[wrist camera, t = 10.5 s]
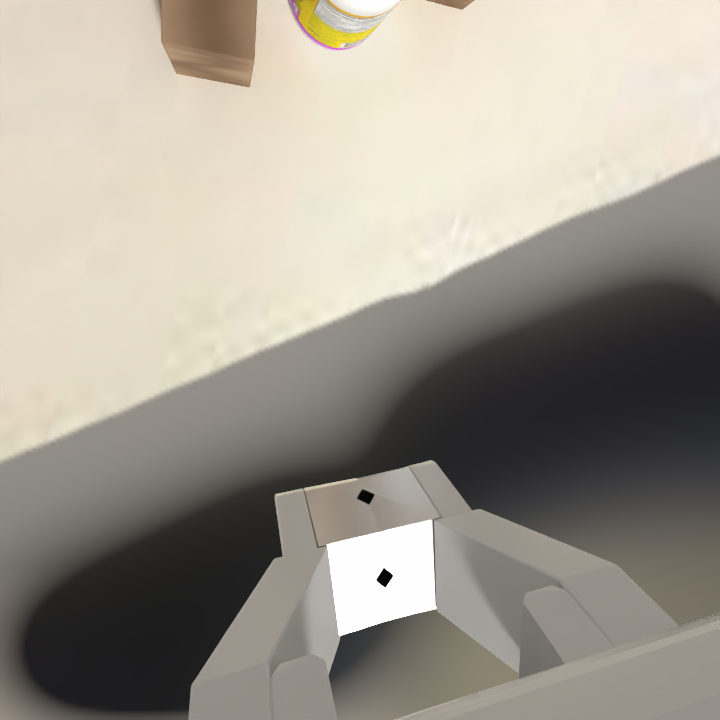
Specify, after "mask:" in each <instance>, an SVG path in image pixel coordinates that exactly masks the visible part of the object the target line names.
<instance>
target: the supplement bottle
mask: <svg viewBox="0 0 720 720" xmlns="http://www.w3.org/2000/svg"><path fill="white" fill-rule="evenodd" d="M400 1H401V0H289V4H290V8H291V11H292V14H293V17H294V19H295V21H296V23H297V25H298V27H299V28H300V30H301V31H302V32H303V34H304V35H305V36H306V37H307V38H308V39H309V40H310V41H311V42H313V43H314V44H316V45H317V46H319V47H321V48H324V49H327V50H331V51H345V50H349V49H351V48H354V47H356V46H357V45H359V44H360V43H362V42H363V41H364V40H365V39H366V38H367V37H368V36H369V35H370V34H371V33H372V32H373V31H374V30H375V28H376V27H377V26H378V25H379V24H380V23H381V22H382V21H383V20H384V18H385V17H386V16H387V15H388V14H389V13H390V12H391V11H392V10H393V8H394V7H395V6H396V5H397V4H398V3H399V2H400Z"/></svg>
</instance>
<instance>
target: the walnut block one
mask: <svg viewBox="0 0 720 720" xmlns="http://www.w3.org/2000/svg"><path fill="white" fill-rule="evenodd" d="M256 15H257V0H161V42H162V44H163V46H164V48H165V50H166V52H167V55H168V57H169V59H170V61H171V63H172V65H173V67H174V69H175V71H176V74H181V75H186V76H192V77H197V78H202V79H208V80H213V81H219V82H224V83H229V84H235V85H240V86H246V87H250V82H251V76H252V71H253V65H254V57H255V36H256Z"/></svg>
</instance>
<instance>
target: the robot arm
mask: <svg viewBox="0 0 720 720" xmlns="http://www.w3.org/2000/svg"><path fill="white" fill-rule="evenodd" d="M275 504H276V511H277V518H278V525H279V532H280V539H281V546H282V553H283V557H279V558H275V559H274V560H273V562H272V563H271V565H270V566H269V568H268V569H267V571H266V573H265V574H264V575H263V577H262V578H261V580H260V581H259V583H258V585H257V586H256V588H255V589H254V591H253V592H252V594H251V595H250V597H249V598H248V600H247V601H246V603H245V605H244V606H243V607H242V609H241V610H240V612H239V614H238V615H237V617H236V618H235V620H234V622H233V623H232V624H231V626H230V627H229V629H228V630H227V632H226V633H225V635H224V636H223V638H222V640H221V641H220V643H219V644H218V646H217V647H216V649H215V650H214V652H213V653H212V655H211V656H210V658H209V659H208V661H207V663H206V664H205V666H204V667H203V669H202V670H201V672H200V673H199V675H198V676H197V678H196V679H195V681H194V682H193V684H192V686H191V696H190V708H189V719H188V720H338V719H337V715H336V711H335V705H334V700H333V696H332V691H331V686H330V682H329V677H328V674H329V671H330V668H331V665H332V662H333V659H334V656H335V653H336V650H337V647H338V644H339V640H340V635H342V634H346V633H349V632H352V631H355V630H358V629H361V628H365V627H368V626H371V625H374V624H377V623H380V622H384V621H387V620H390V619H394V618H399V617H403V616H406V615H411V614H414V613H419V612H423V611H426V610H430V609H434V608H437V611H438V612H439V613H440V614H442V615H443V616H444V617H446V618H447V619H448V620H450V621H451V622H452V623H454V624H455V625H456V626H458V627H459V628H460V629H461V630H463V631H464V632H465V633H467V634H468V635H469V636H471V637H472V638H473V639H474V640H476V641H477V642H478V643H480V644H481V645H482V646H484V647H485V648H486V649H488V650H489V651H490V652H491V653H493V654H494V655H495V656H497V657H498V658H499V659H501V660H502V661H503V662H504V663H506V664H507V665H508V666H510V667H511V668H512V669H514V670H515V671H516V672H518V673H519V679H517V680H514V681H511V682H508V683H505V684H502V685H499V686H496V687H493V688H490V689H486V690H484V691H480V692H477V693H474V694H471V695H468V696H465V697H462V698H459V699H456V700H453V701H450V702H447V703H444V704H441V705H437V706H434V707H431V708H429V709H426V710H423V711H419V712H416V713H413V714H410V715H407V716H404V717H401V718H398V719H395V720H720V613H719V614H716V615H713V616H710V617H706V618H703V619H701V620H697V621H694V622H691V623H688V624H685V625H682V626H679V625H677V623H675V622H674V621H673V620H672V619H671V618H670V617H669V616H668V615H667V614H666V613H665V612H664V611H663V610H662V609H661V608H660V607H659V606H658V605H657V604H656V603H655V602H654V601H653V600H652V599H651V598H650V597H649V596H648V595H647V594H646V593H645V592H644V591H643V590H642V589H641V588H640V587H639V586H638V585H637V584H636V583H635V582H634V581H632V579H631V578H630V577H628V576H627V575H626V574H625V573H624V572H623V571H622V570H621V569H620V568H619V567H618V566H617V565H616V564H613V563H611V562H608V561H606V560H603V559H601V558H599V557H596V556H594V555H591V554H589V553H586V552H584V551H581V550H579V549H577V548H574V547H572V546H569V545H567V544H564V543H562V542H560V541H557V540H555V539H552V538H550V537H547V536H545V535H542V534H540V533H537V532H535V531H532V530H530V529H528V528H525V527H523V526H520V525H518V524H515V523H513V522H511V521H508V520H506V519H503V518H501V517H498V516H496V515H493V514H491V513H489V512H486V511H484V510H481V509H477V510H473V511H472V510H471V508H470V507H469V506H468V505H467V503H466V502H465V501H464V499H463V498H462V497H461V495H460V494H459V493H458V491H457V490H456V489H455V488H454V486H453V485H452V484H451V482H450V481H449V480H448V478H447V477H446V476H445V474H444V473H443V472H442V470H441V469H440V468H439V467H438V465H437V464H436V463H435V462H434V461H431V460H430V461H427V462H422V463H419V464H415V465H411V466H407V467H405V468H401V469H396V470H393V471H388V472H383V473H379V474H375V475H371V476H366V477H362V478H358V479H357V478H355V479H349V480H344V481H339V482H334V483H329V484H323V485H318V486H313V487H308V488H304V490H302V489H298V490H293V491H289V492H285V493H280V494H276V495H275Z"/></svg>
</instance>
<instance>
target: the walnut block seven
mask: <svg viewBox="0 0 720 720" xmlns="http://www.w3.org/2000/svg"><path fill="white" fill-rule="evenodd" d="M427 1H431V2H435V3H439V4H443V5H446V6H450V7H454V8H458V9H464V8H465V7H466V6H467V5H469V4H470V3H471V2H473V1H474V0H427Z"/></svg>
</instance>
